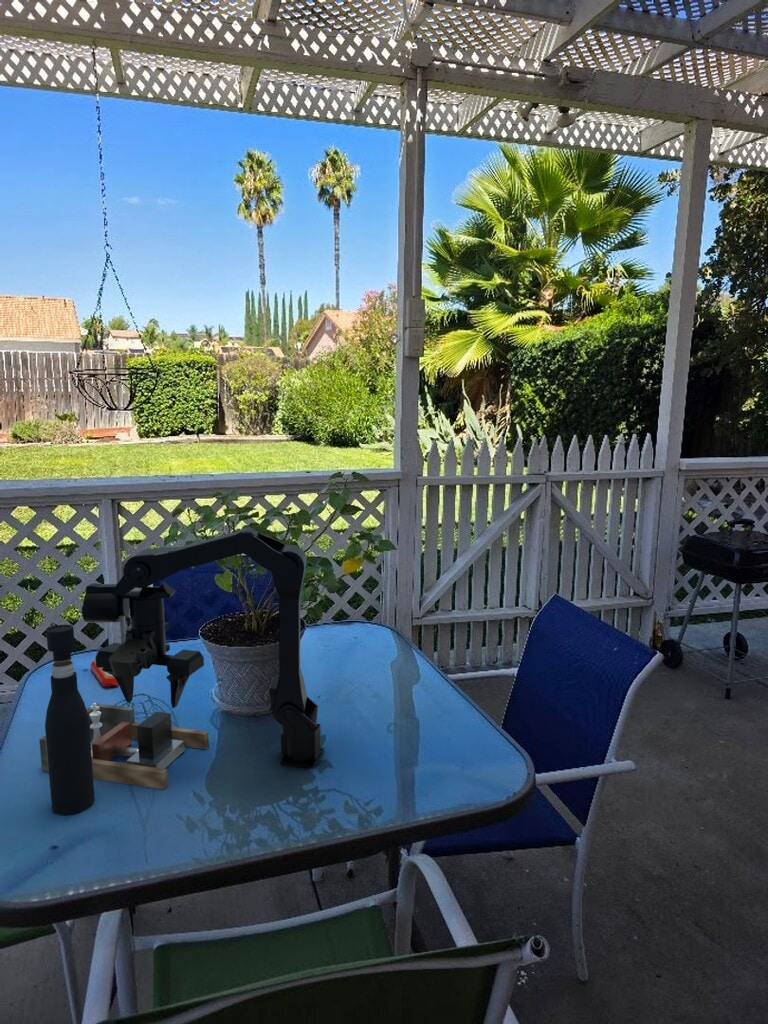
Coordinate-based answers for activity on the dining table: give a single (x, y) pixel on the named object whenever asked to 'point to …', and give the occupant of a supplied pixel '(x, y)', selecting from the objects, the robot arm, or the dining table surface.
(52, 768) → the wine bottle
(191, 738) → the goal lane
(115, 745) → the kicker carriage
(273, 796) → the dining table surface
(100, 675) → the candy bar
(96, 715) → the chess piece
